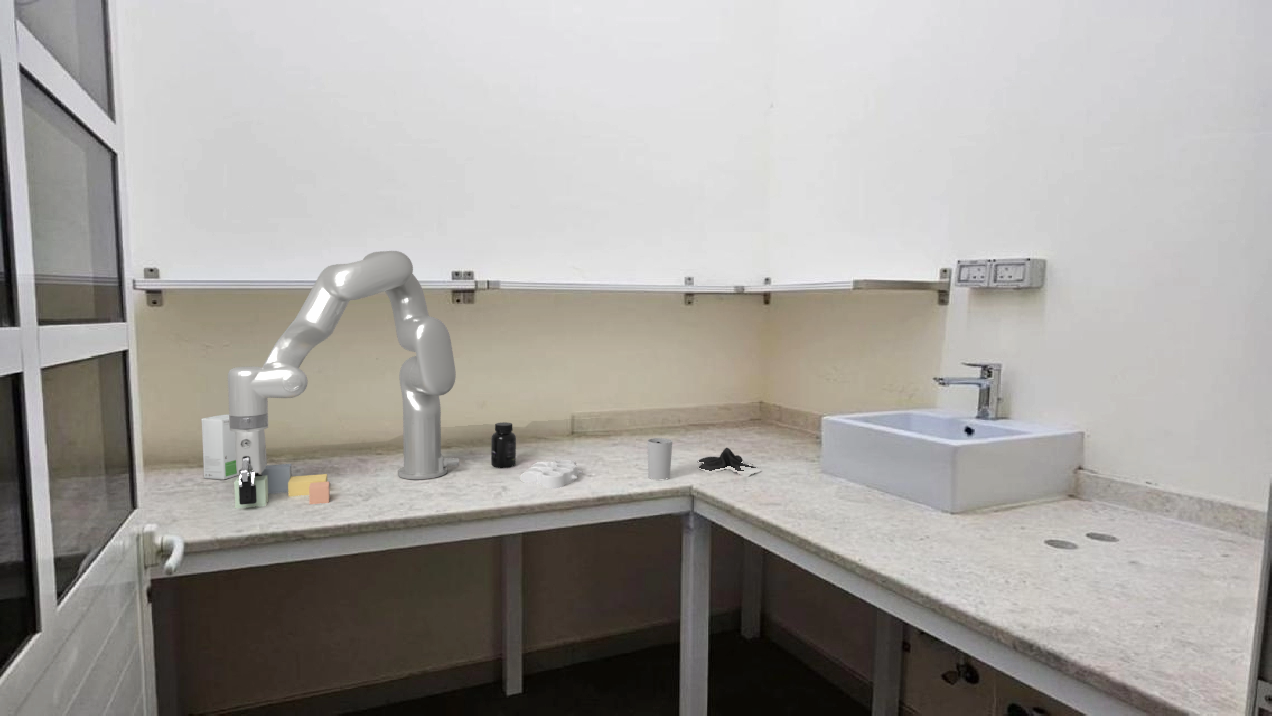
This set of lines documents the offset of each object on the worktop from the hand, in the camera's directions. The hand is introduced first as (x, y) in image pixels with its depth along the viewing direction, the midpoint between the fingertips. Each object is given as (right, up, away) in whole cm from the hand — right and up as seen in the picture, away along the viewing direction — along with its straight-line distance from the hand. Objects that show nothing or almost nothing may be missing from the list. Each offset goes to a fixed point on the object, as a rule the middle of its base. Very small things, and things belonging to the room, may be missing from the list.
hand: (251, 497), depth 152 cm
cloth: (+114, 0, +42) cm, 121 cm away
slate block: (0, -1, +11) cm, 11 cm away
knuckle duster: (+65, -1, +26) cm, 70 cm away
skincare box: (-20, +1, +23) cm, 31 cm away
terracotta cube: (+14, -2, +4) cm, 14 cm away
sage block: (0, -2, 0) cm, 2 cm away
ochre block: (+8, -1, +11) cm, 13 cm away
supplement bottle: (+49, +1, +38) cm, 62 cm away
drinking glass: (+93, -1, +29) cm, 97 cm away
